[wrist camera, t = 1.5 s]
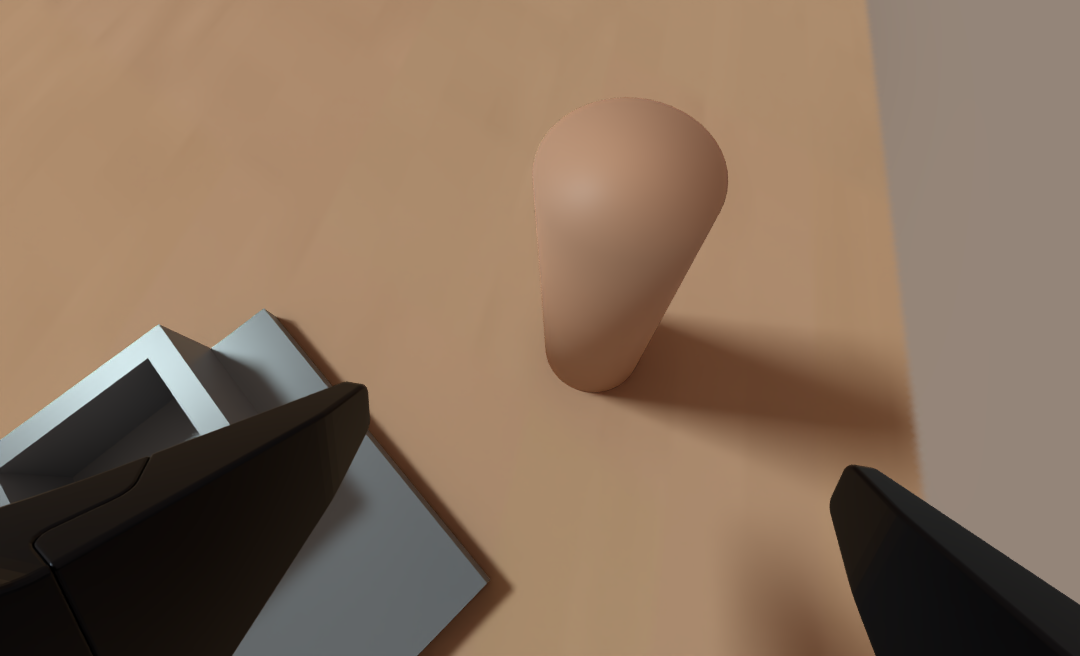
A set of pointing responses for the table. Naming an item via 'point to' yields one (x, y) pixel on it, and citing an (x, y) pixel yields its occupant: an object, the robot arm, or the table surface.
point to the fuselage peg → (618, 229)
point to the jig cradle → (337, 540)
